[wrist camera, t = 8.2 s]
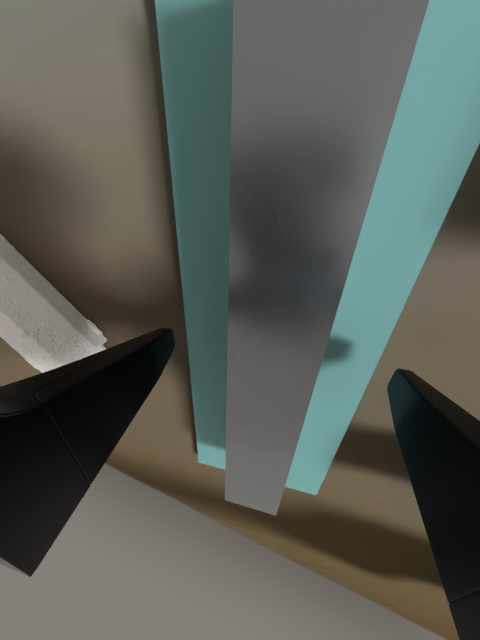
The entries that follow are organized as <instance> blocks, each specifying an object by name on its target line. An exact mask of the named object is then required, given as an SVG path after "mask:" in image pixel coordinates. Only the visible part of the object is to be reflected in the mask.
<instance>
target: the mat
mask: <svg viewBox="0 0 480 640" xmlns="http://www.w3.org/2000/svg"><path fill="white" fill-rule="evenodd" d="M155 9H156V19H157V30H158V40H159V51H160V61H161V72H162V82H163V93H164V103H165V114H166V124H167V135H168V145H169V156H170V166H171V177H172V187H173V198H174V208H175V219H176V229H177V240H178V250H179V261H180V271H181V282H182V292H183V303H184V313H185V324H186V334H187V345H188V355H189V366H190V376H191V387H192V397H193V408H194V418H195V429H196V439H197V450H198V460H199V462H200V463H203V464H207V465H210V466H214V467H217V468H221V469H224V470H225V462H226V403H227V344H228V285H229V226H230V168H231V109H232V50H233V0H155ZM479 144H480V0H429V3H428V7H427V10H426V13H425V17H424V20H423V24H422V27H421V30H420V34H419V37H418V40H417V44H416V47H415V50H414V54H413V57H412V61H411V64H410V67H409V71H408V74H407V77H406V81H405V84H404V87H403V91H402V94H401V98H400V101H399V104H398V108H397V111H396V114H395V118H394V121H393V124H392V128H391V131H390V135H389V138H388V141H387V145H386V148H385V151H384V155H383V158H382V161H381V165H380V168H379V172H378V175H377V178H376V182H375V185H374V188H373V192H372V195H371V198H370V202H369V205H368V209H367V212H366V215H365V219H364V222H363V225H362V229H361V232H360V236H359V239H358V242H357V246H356V249H355V252H354V256H353V259H352V262H351V266H350V269H349V273H348V276H347V279H346V283H345V286H344V289H343V293H342V296H341V299H340V303H339V306H338V310H337V313H336V316H335V320H334V323H333V326H332V330H331V333H330V336H329V340H328V343H327V347H326V350H325V353H324V357H323V360H322V363H321V367H320V370H319V373H318V377H317V380H316V384H315V387H314V390H313V394H312V397H311V400H310V404H309V407H308V410H307V414H306V417H305V421H304V424H303V427H302V431H301V434H300V437H299V441H298V444H297V448H296V451H295V454H294V458H293V461H292V464H291V468H290V471H289V474H288V478H287V481H286V485H285V487H288V488H292V489H295V490H299V491H302V492H306V493H310V494H313V495H317V493H318V491H319V488H320V486H321V484H322V482H323V480H324V478H325V476H326V473H327V471H328V469H329V467H330V465H331V463H332V460H333V458H334V456H335V454H336V452H337V450H338V447H339V445H340V443H341V441H342V439H343V437H344V435H345V432H346V430H347V428H348V426H349V424H350V422H351V419H352V417H353V415H354V413H355V411H356V409H357V407H358V404H359V402H360V400H361V398H362V396H363V394H364V391H365V389H366V387H367V385H368V383H369V381H370V379H371V376H372V374H373V372H374V370H375V368H376V366H377V363H378V361H379V359H380V357H381V355H382V353H383V350H384V348H385V346H386V344H387V342H388V340H389V338H390V335H391V333H392V331H393V329H394V327H395V325H396V322H397V320H398V318H399V316H400V314H401V312H402V310H403V307H404V305H405V303H406V301H407V299H408V297H409V294H410V292H411V290H412V288H413V286H414V284H415V282H416V279H417V277H418V275H419V273H420V271H421V269H422V266H423V264H424V262H425V260H426V258H427V256H428V253H429V251H430V249H431V247H432V245H433V243H434V241H435V238H436V236H437V234H438V232H439V230H440V228H441V225H442V223H443V221H444V219H445V217H446V215H447V213H448V210H449V208H450V206H451V204H452V202H453V200H454V197H455V195H456V193H457V191H458V189H459V187H460V185H461V182H462V180H463V178H464V176H465V174H466V172H467V169H468V167H469V165H470V163H471V161H472V159H473V156H474V154H475V152H476V150H477V148H478V146H479Z"/></svg>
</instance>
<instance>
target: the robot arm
mask: <svg viewBox="0 0 480 640" xmlns="http://www.w3.org/2000/svg"><path fill="white" fill-rule="evenodd" d="M174 347H175V343H174V335H173V331H172V329H169V328H161V329H158V330H155V331H153V332H150V333H147V334H145V335H142V336H140V337H137V338H134V339H132V340H129V341H126V342H124V343H121V344H119V345H116V346H113V347H111V348H108V349H106V350H103V351H100V352H98V353H95V354H92V355H90V356H87V357H85V358H82V359H81V360H77V361H74V362H71V363H69V364H66V365H63V366H61V367H58V368H55V369H52V370H50V371H47V372H44V373H41V374H38V375H35V376H32V377H29V378H26V379H23V380H19V381H16V382H13V383H10V384H7V385H4V386H1V387H0V564H2V565H4V566H6V567H8V568H11V569H13V570H15V571H18V572H20V573H22V574H24V575H27V576H29V577H31V576H32V574H33V573H34V572H35V570H36V569H37V567H38V566H39V564H40V563H41V561H42V560H43V558H44V557H45V555H46V553H47V552H48V550H49V549H50V547H51V546H52V544H53V543H54V541H55V539H56V538H57V536H58V535H59V533H60V532H61V530H62V529H63V527H64V526H65V524H66V523H67V521H68V519H69V518H70V516H71V515H72V513H73V512H74V510H75V508H76V507H77V505H78V504H79V502H80V501H81V499H82V498H83V496H84V495H85V493H86V492H87V490H88V488H89V487H90V484H91V483H92V482H93V480H94V479H95V477H96V475H97V474H98V473H99V471H100V470H101V468H102V466H103V465H104V463H105V462H106V460H107V459H108V457H109V456H110V454H111V452H112V451H113V449H114V448H115V446H116V445H117V443H118V442H119V440H120V438H121V437H122V435H123V434H124V432H125V431H126V429H127V428H128V426H129V424H130V423H131V421H132V420H133V418H134V417H135V415H136V414H137V412H138V411H139V409H140V407H141V406H142V404H143V403H144V401H145V400H146V398H147V397H148V395H149V393H150V392H151V390H152V389H153V387H154V386H155V384H156V383H157V381H158V379H159V378H160V376H161V374H162V372H163V370H164V368H165V366H166V364H167V362H168V360H169V358H170V356H171V354H172V352H173V350H174ZM387 391H388V396H389V402H390V407H391V413H392V418H393V423H394V428H395V432H396V435H397V439H398V442H399V445H400V448H401V451H402V455H403V458H404V461H405V464H406V468H407V471H408V474H409V477H410V481H411V484H412V487H413V490H414V493H415V497H416V500H417V503H418V506H419V510H420V513H421V516H422V519H423V523H424V526H425V529H426V532H427V535H428V539H429V542H430V545H431V548H432V552H433V555H434V558H435V561H436V565H437V568H438V571H439V574H440V577H441V581H442V584H443V587H444V590H445V594H446V597H447V600H448V602H449V603H450V604H449V607H450V611H451V614H452V617H453V620H454V624H455V627H456V630H457V633H458V636H459V640H480V421H479V420H478V419H476V418H475V417H473V416H472V415H471V414H469V413H468V412H467V411H465V410H464V409H462V408H461V407H460V406H458V405H457V404H456V403H454V402H453V401H451V400H450V399H449V398H447V397H446V396H445V395H443V394H442V393H441V392H439V391H438V390H436V389H435V388H434V387H432V386H431V385H430V384H428V383H427V382H425V381H424V380H423V379H421V378H420V377H419V376H417V375H416V374H414V373H413V372H412V371H410V370H404V369H397V370H395V372H394V374H393V376H392V378H391V380H390V381H389V383H388V387H387Z"/></svg>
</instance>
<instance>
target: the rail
mask: <svg viewBox="0 0 480 640" xmlns="http://www.w3.org/2000/svg"><path fill="white" fill-rule="evenodd" d="M428 3H429V0H233V50H232V109H231V168H230V226H229V285H228V344H227V403H226V462H225V500H226V501H229V502H233V503H236V504H239V505H242V506H246V507H249V508H252V509H255V510H259V511H262V512H265V513H268V514H272V515H275V516H276V515H277V511H278V508H279V505H280V501H281V498H282V495H283V491H284V488H285V485H286V481H287V478H288V474H289V471H290V468H291V464H292V461H293V458H294V454H295V451H296V448H297V444H298V441H299V437H300V434H301V431H302V427H303V424H304V421H305V417H306V414H307V410H308V407H309V404H310V400H311V397H312V394H313V390H314V387H315V384H316V380H317V377H318V373H319V370H320V367H321V363H322V360H323V357H324V353H325V350H326V347H327V343H328V340H329V336H330V333H331V330H332V326H333V323H334V320H335V316H336V313H337V310H338V306H339V303H340V299H341V296H342V293H343V289H344V286H345V283H346V279H347V276H348V273H349V269H350V266H351V262H352V259H353V256H354V252H355V249H356V246H357V242H358V239H359V236H360V232H361V229H362V225H363V222H364V219H365V215H366V212H367V209H368V205H369V202H370V198H371V195H372V192H373V188H374V185H375V182H376V178H377V175H378V172H379V168H380V165H381V161H382V158H383V155H384V151H385V148H386V145H387V141H388V138H389V135H390V131H391V128H392V124H393V121H394V118H395V114H396V111H397V108H398V104H399V101H400V98H401V94H402V91H403V87H404V84H405V81H406V77H407V74H408V71H409V67H410V64H411V61H412V57H413V54H414V50H415V47H416V44H417V40H418V37H419V34H420V30H421V27H422V24H423V20H424V17H425V13H426V10H427V7H428Z"/></svg>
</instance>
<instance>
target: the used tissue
mask: <svg viewBox="0 0 480 640" xmlns="http://www.w3.org/2000/svg"><path fill="white" fill-rule="evenodd" d="M102 334H103V332H102V331H100V329H98V328H97V326H96V325H95V324H93V323H92V322H91V321H90V320H89V319H88V320H87V319H86V318H85V317H84V316H83V315H82V314H81V313H80V312H79V311H78V310H77V309H76V308H75V307H74V306H73V305H72V304H71V303H70V302H69V301H68V300H67V299H66V298H65V297H63V296H62V295H61V294H60V293H59V292H58V291H57V290H56V289H55V288H54V287H53V286H52V285H51V284H50V283H49V282H48V281H47V280H46V279H45V278H44V277H43V276H42V275H41V274H40V273H39V272H38V271H37V270H36V269H35V268H34V267H33V266H32V265H31V264H30V263H29V262H28V261H27V260H26V259H25V258H24V257H23V256H22V255H21V254H20V253H19V252H18V251H17V250H16V249H15V248H14V247H13V246H12V245H11V244H10V243H9V242H8V241H7V240H6V239H5V238H4V237H3V236H2V235H1V234H0V337H1V338H3V339H4V340H5V342H7V343H8V344H9V345H10V346H11V347H12V348H14V349H15V350H16V351H17V352H18V353H19V354H21V355H22V356H23V357H24V358H25V360H26V361H28V363H30V364H31V365H32V366H33V367H34V368H35V369H38V370H40V371H41V372H42V373H44V372H47V371H50V370H52V369H55V368H58V367H61V366H63V365H66V364H69V363H71V362H74V361H77V360H81V359H82V358H85V357H87V356H90V355H92V354H95V353H98V352H100V351H103V350H106V348H105V347H104V346H103V345H102V344H104V343H105V342H106V341H107V339H106V338H105V337H104V336H103V335H102Z"/></svg>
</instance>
